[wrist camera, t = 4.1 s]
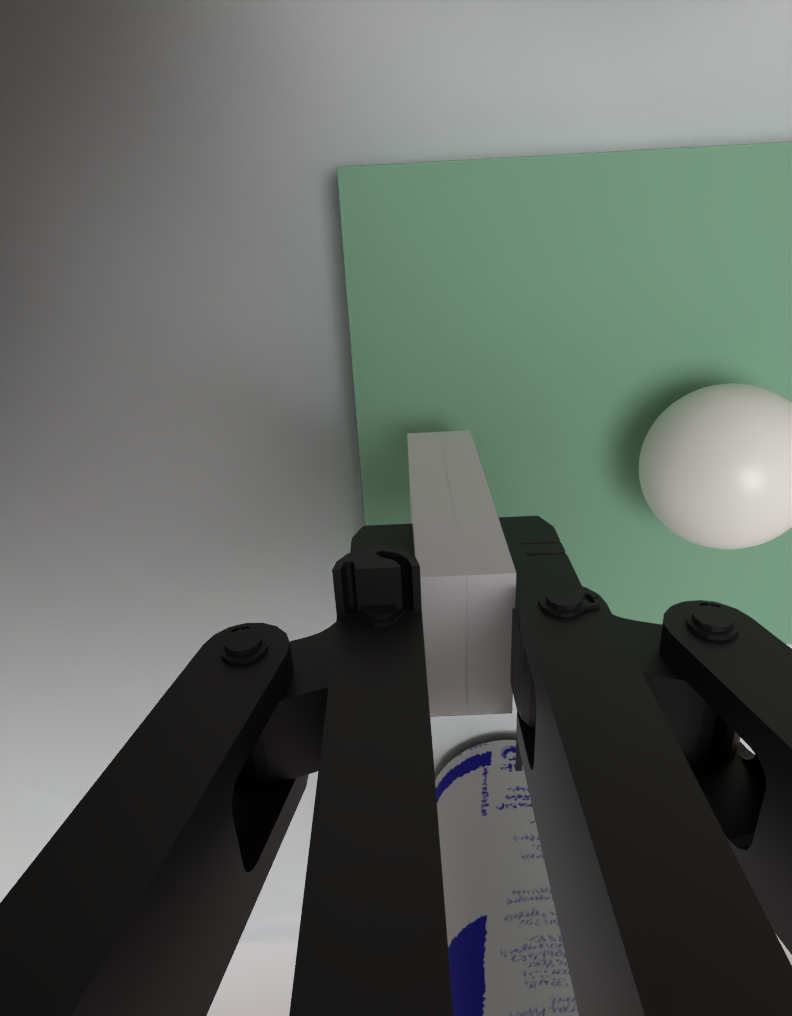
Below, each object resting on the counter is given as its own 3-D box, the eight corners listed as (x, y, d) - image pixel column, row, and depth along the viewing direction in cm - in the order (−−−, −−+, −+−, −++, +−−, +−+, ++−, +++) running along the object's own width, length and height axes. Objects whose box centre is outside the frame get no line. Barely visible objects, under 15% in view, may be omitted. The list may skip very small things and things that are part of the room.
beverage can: (413, 748, 26) (441, 1376, 12) (560, 715, 25) (760, 1338, 12) (450, 845, 28) (507, 1462, 15) (585, 818, 27) (775, 1436, 14)
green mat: (376, 625, 23) (375, 662, 21) (342, 168, 17) (336, 167, 15) (1086, 592, 23) (1146, 627, 21) (1306, 115, 17) (1416, 107, 15)
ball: (611, 509, 19) (663, 585, 16) (625, 369, 17) (686, 417, 14) (754, 502, 19) (839, 576, 16) (781, 361, 17) (884, 408, 14)
